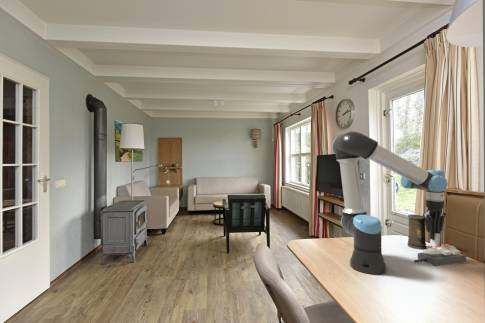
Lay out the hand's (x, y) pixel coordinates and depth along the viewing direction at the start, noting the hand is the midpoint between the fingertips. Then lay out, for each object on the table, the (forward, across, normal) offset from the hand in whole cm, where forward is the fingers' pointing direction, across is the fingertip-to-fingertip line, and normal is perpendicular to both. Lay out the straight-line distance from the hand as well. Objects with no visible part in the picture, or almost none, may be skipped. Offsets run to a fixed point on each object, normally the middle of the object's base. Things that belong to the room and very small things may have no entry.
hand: (434, 245), depth 129 cm
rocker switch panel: (+6, -4, -4) cm, 8 cm away
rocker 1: (+3, -6, -4) cm, 8 cm away
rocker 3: (+3, +6, -4) cm, 7 cm away
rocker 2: (+3, 0, -4) cm, 5 cm away
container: (+7, +7, +15) cm, 18 cm away
